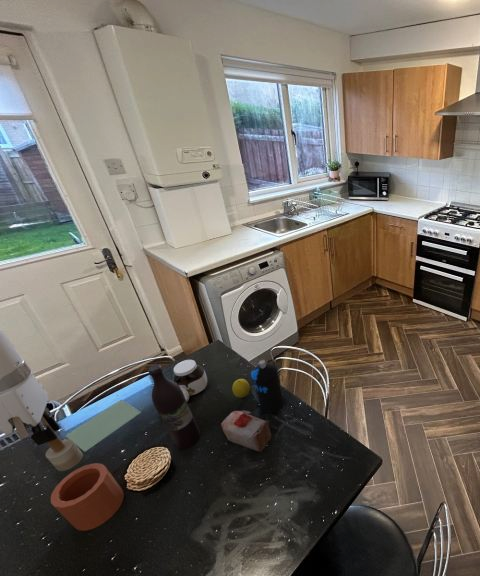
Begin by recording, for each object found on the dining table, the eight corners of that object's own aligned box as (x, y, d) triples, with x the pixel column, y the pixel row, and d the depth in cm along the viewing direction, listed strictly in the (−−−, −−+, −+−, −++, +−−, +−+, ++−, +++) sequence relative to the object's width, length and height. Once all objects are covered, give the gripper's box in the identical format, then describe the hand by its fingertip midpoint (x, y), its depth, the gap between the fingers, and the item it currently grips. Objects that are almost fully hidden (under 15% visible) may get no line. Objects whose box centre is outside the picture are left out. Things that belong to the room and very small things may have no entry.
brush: (81, 464, 74) (48, 423, 67) (54, 475, 72) (17, 433, 65) (84, 448, 78) (54, 407, 70) (58, 458, 75) (24, 417, 68)
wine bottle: (173, 452, 93) (135, 381, 79) (176, 433, 99) (141, 363, 84) (200, 444, 96) (167, 372, 81) (201, 425, 102) (171, 356, 87)
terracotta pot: (86, 539, 74) (63, 516, 69) (65, 517, 78) (42, 493, 73) (132, 498, 82) (114, 474, 77) (111, 480, 86) (93, 456, 81)
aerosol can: (277, 391, 114) (268, 349, 104) (288, 404, 109) (279, 362, 99) (256, 404, 109) (243, 361, 99) (266, 418, 104) (255, 375, 94)
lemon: (232, 401, 110) (226, 385, 106) (240, 389, 115) (236, 373, 111) (246, 403, 110) (241, 387, 106) (254, 391, 114) (250, 375, 110)
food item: (222, 442, 96) (214, 421, 92) (240, 421, 103) (233, 401, 98) (259, 456, 93) (252, 435, 88) (275, 433, 99) (270, 412, 95)
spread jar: (209, 378, 120) (201, 355, 114) (208, 400, 111) (199, 376, 105) (173, 388, 115) (163, 364, 110) (169, 411, 106) (157, 387, 101)
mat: (85, 453, 93) (84, 452, 93) (65, 436, 98) (65, 435, 98) (141, 413, 106) (141, 412, 105) (122, 400, 110) (121, 399, 110)
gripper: (-10, 360, 65) (36, 418, 74) (-46, 414, 54) (14, 475, 63) (38, 348, 69) (77, 405, 78) (15, 396, 57) (64, 456, 66)
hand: (49, 436), depth 70 cm, fingers closed on brush
